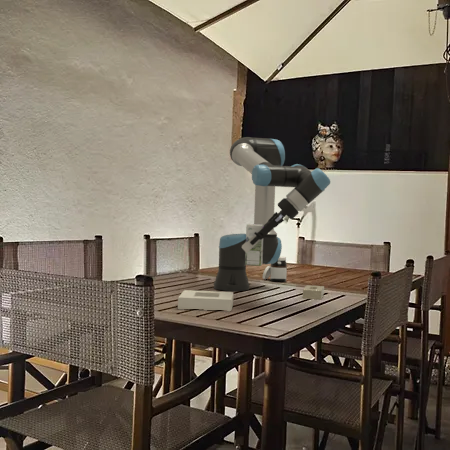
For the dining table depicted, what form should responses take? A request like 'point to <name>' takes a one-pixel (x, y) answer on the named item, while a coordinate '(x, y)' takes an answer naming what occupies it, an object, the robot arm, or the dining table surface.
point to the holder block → (205, 300)
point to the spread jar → (276, 271)
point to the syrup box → (256, 253)
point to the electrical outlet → (313, 292)
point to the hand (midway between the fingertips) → (244, 249)
